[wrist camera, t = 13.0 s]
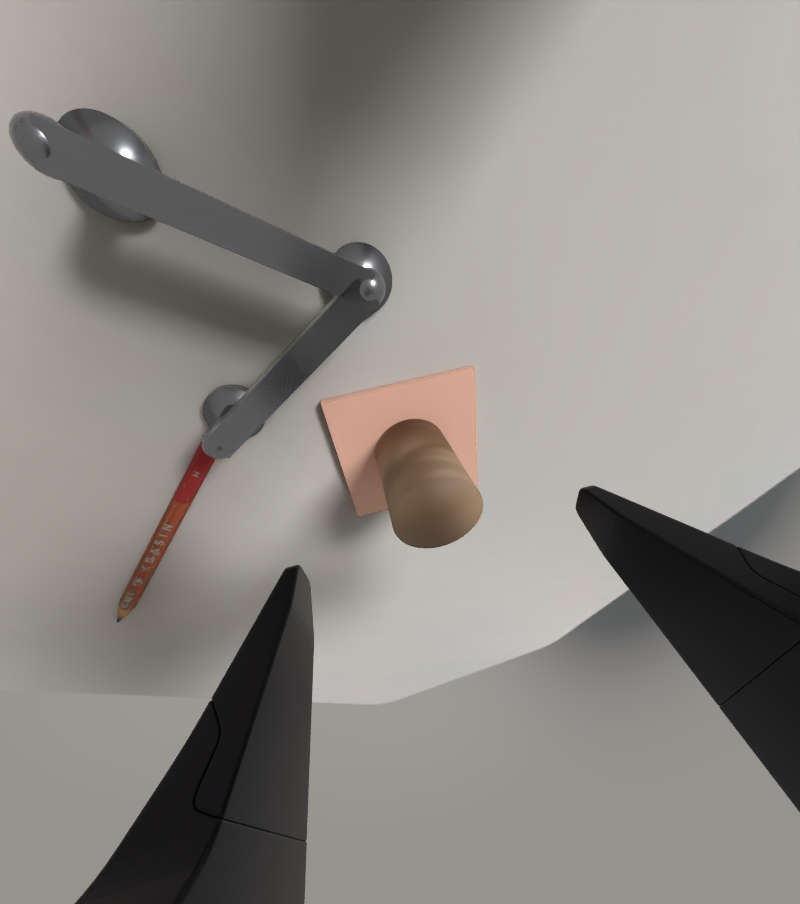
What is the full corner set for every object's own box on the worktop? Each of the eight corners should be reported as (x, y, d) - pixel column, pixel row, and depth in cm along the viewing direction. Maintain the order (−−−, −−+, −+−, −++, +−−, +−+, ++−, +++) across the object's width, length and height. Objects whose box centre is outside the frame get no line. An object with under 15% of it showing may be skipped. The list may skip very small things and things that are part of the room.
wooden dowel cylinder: (442, 411, 19) (482, 467, 14) (447, 469, 22) (483, 534, 17) (368, 428, 19) (384, 493, 14) (382, 486, 22) (400, 557, 17)
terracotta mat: (471, 365, 19) (475, 368, 18) (475, 481, 24) (477, 485, 23) (320, 400, 18) (320, 404, 18) (357, 512, 23) (357, 516, 23)
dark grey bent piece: (358, 73, 12) (373, 1, 8) (408, 396, 19) (427, 430, 16) (40, 120, 11) (-93, 62, 7) (222, 440, 18) (198, 486, 15)
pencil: (209, 425, 18) (204, 434, 17) (228, 434, 18) (224, 442, 18) (113, 614, 24) (105, 627, 24) (129, 617, 25) (122, 629, 24)
